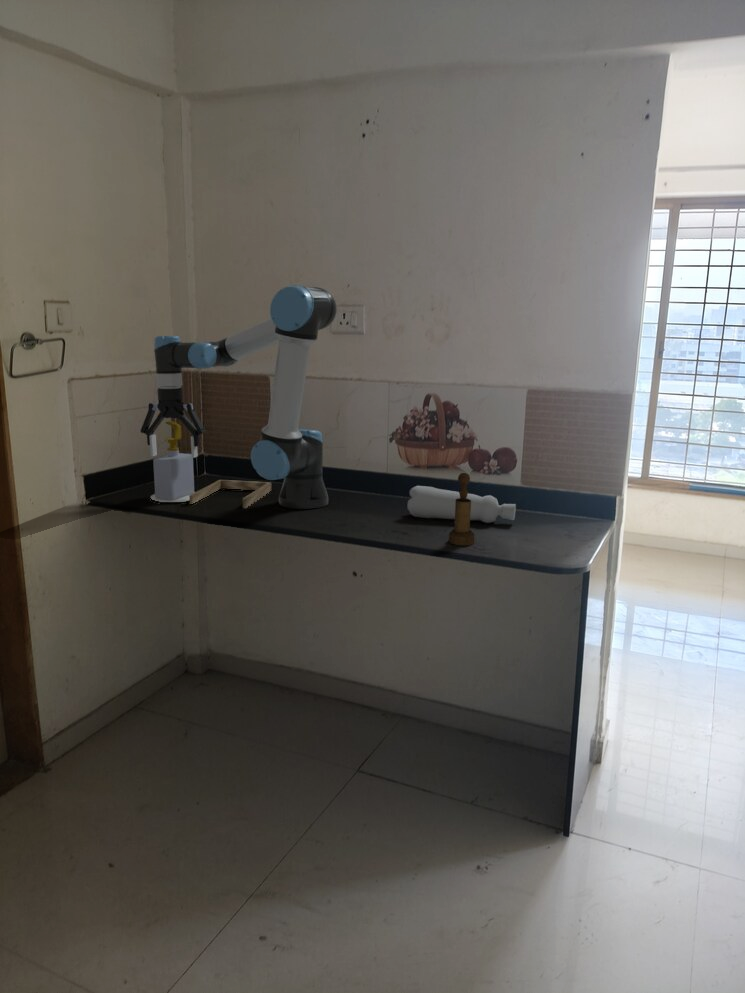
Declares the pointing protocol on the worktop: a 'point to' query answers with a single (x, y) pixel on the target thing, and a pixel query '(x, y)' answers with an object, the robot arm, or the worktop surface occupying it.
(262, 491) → the frame
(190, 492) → the soap bottle
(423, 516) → the bottle
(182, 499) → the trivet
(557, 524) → the worktop surface
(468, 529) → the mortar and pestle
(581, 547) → the worktop surface
